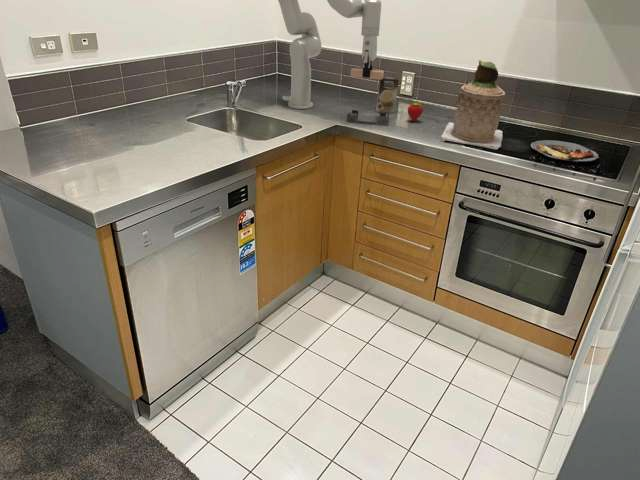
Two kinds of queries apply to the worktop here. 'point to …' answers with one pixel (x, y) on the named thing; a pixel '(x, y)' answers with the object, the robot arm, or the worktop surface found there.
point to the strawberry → (415, 111)
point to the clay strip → (373, 74)
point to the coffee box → (387, 94)
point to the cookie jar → (478, 111)
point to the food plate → (564, 151)
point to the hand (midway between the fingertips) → (367, 75)
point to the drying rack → (367, 118)
